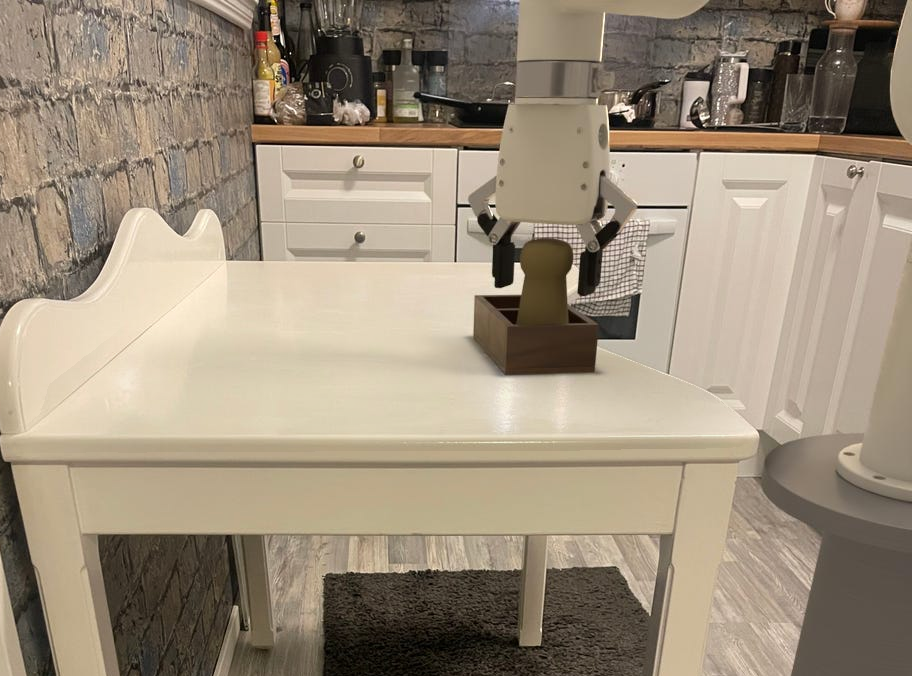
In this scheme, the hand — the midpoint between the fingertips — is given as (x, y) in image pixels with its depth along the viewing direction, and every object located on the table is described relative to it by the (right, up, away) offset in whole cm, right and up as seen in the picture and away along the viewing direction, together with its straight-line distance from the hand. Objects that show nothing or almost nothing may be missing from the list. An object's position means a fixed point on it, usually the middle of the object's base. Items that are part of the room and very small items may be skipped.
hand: (544, 289), depth 94 cm
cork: (0, -6, +3) cm, 7 cm away
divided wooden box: (-1, -4, +7) cm, 8 cm away
